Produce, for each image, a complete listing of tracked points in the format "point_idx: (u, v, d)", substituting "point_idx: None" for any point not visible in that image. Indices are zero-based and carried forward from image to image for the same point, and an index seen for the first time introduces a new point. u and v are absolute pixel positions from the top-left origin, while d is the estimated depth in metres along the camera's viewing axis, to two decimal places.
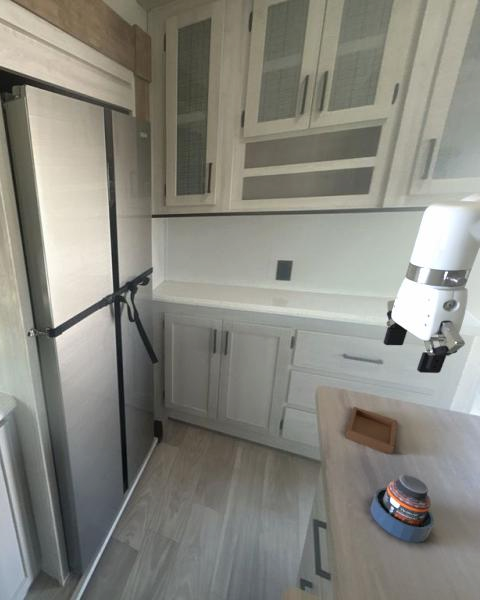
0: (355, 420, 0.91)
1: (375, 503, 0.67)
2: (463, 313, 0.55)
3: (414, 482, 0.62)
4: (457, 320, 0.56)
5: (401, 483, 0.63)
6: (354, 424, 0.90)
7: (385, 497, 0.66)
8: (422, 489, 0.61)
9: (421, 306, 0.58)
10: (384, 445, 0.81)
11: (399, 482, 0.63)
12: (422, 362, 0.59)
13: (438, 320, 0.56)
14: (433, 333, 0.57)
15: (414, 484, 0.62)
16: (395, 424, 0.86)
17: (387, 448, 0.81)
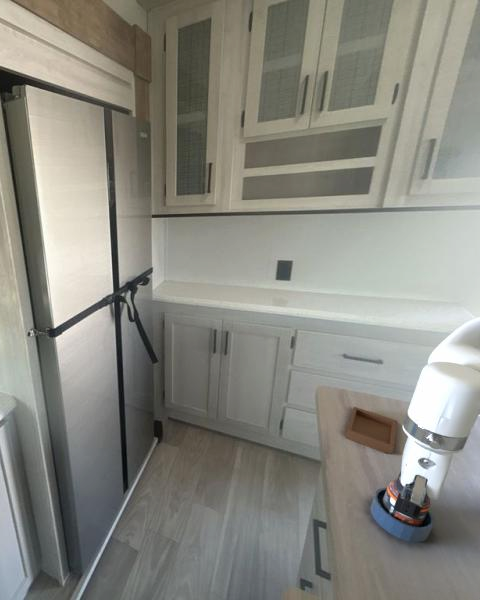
0: (355, 420, 0.91)
1: (375, 503, 0.67)
2: (442, 477, 0.55)
3: None
4: (434, 480, 0.56)
5: None
6: (354, 424, 0.90)
7: (385, 497, 0.66)
8: None
9: (406, 453, 0.59)
10: (384, 445, 0.81)
11: (399, 482, 0.63)
12: (396, 502, 0.62)
13: (413, 472, 0.57)
14: (408, 482, 0.58)
15: None
16: (395, 424, 0.86)
17: (387, 448, 0.81)
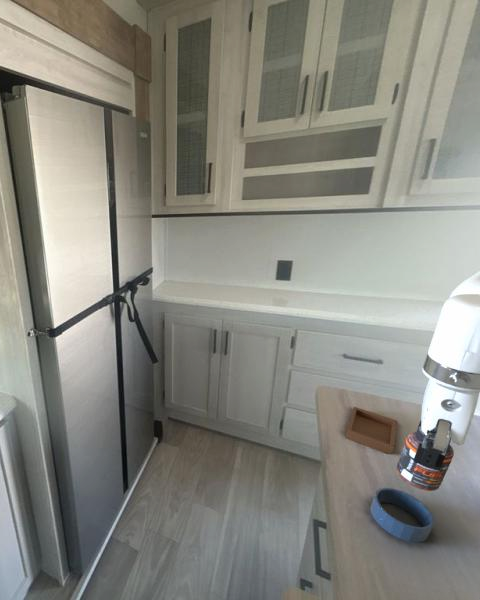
0: (355, 420, 0.91)
1: (375, 503, 0.67)
2: (468, 418, 0.50)
3: None
4: (459, 423, 0.51)
5: (421, 433, 0.58)
6: (354, 424, 0.90)
7: (404, 450, 0.61)
8: None
9: (427, 397, 0.55)
10: (384, 445, 0.81)
11: (419, 432, 0.59)
12: (417, 453, 0.58)
13: (435, 416, 0.53)
14: (429, 428, 0.54)
15: None
16: (395, 424, 0.86)
17: (387, 448, 0.81)
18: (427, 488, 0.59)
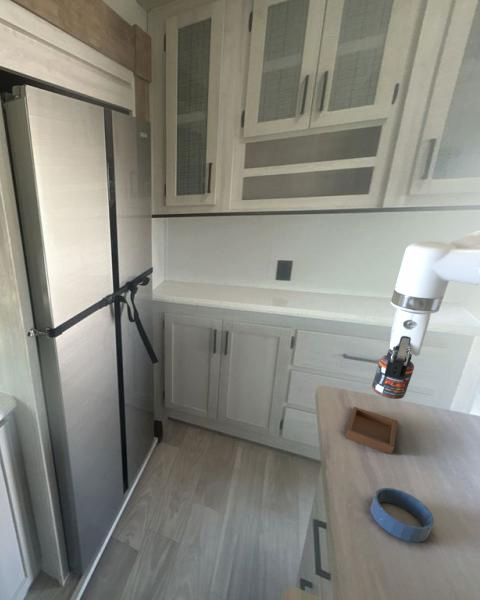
0: (355, 420, 0.91)
1: (375, 503, 0.67)
2: (422, 333, 0.68)
3: None
4: (416, 338, 0.69)
5: (390, 353, 0.76)
6: (354, 424, 0.90)
7: (377, 370, 0.79)
8: None
9: (394, 322, 0.73)
10: (384, 445, 0.81)
11: (388, 353, 0.76)
12: (386, 367, 0.75)
13: (399, 335, 0.71)
14: (395, 345, 0.72)
15: None
16: (395, 424, 0.86)
17: (387, 448, 0.81)
18: (394, 397, 0.77)
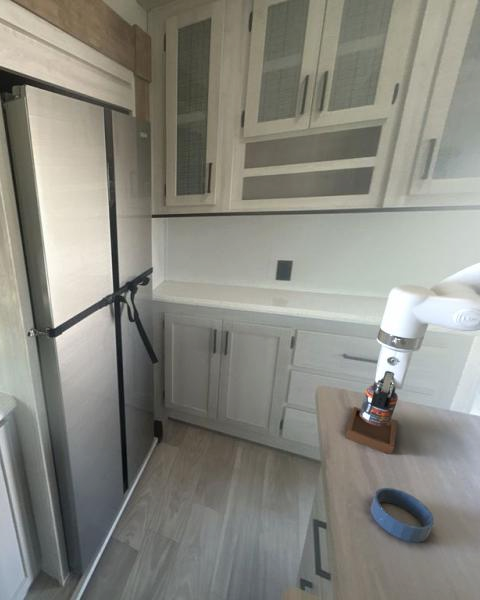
0: (355, 420, 0.91)
1: (375, 503, 0.67)
2: (404, 369, 0.74)
3: None
4: (398, 373, 0.75)
5: (376, 384, 0.82)
6: (354, 424, 0.90)
7: (364, 399, 0.85)
8: None
9: (379, 357, 0.79)
10: (384, 445, 0.81)
11: (374, 384, 0.83)
12: (372, 398, 0.81)
13: (383, 369, 0.77)
14: (380, 378, 0.78)
15: None
16: (395, 424, 0.86)
17: (387, 448, 0.81)
18: (380, 424, 0.83)
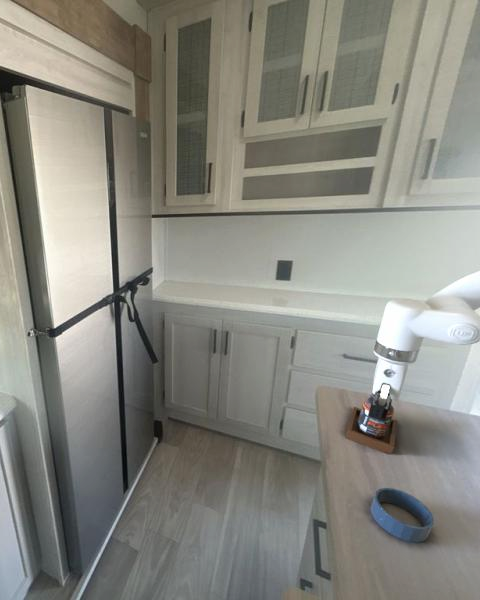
0: (355, 420, 0.91)
1: (375, 503, 0.67)
2: (400, 381, 0.76)
3: None
4: (395, 385, 0.76)
5: (372, 397, 0.84)
6: (354, 424, 0.90)
7: (361, 411, 0.87)
8: None
9: (376, 369, 0.80)
10: (384, 445, 0.81)
11: (371, 397, 0.84)
12: (370, 409, 0.81)
13: (380, 381, 0.78)
14: (377, 390, 0.79)
15: None
16: (395, 424, 0.86)
17: (387, 448, 0.81)
18: (376, 436, 0.85)
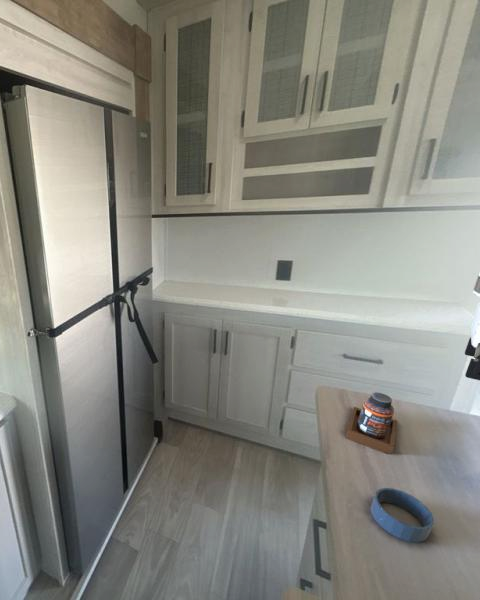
0: (355, 420, 0.91)
1: (375, 503, 0.67)
2: None
3: (382, 396, 0.83)
4: None
5: (372, 397, 0.84)
6: (354, 424, 0.90)
7: (361, 411, 0.87)
8: (387, 400, 0.82)
9: (477, 315, 0.62)
10: (384, 445, 0.81)
11: (371, 397, 0.84)
12: (469, 367, 0.63)
13: None
14: None
15: (382, 397, 0.83)
16: (395, 424, 0.86)
17: (387, 448, 0.81)
18: (376, 436, 0.85)
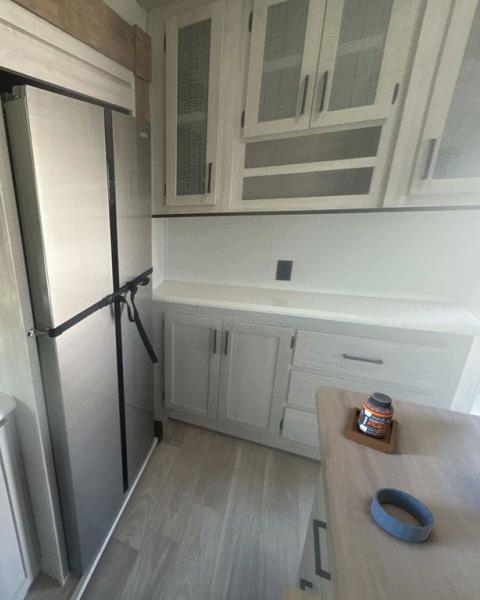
0: (355, 420, 0.91)
1: (375, 503, 0.67)
2: None
3: (382, 396, 0.83)
4: None
5: (372, 397, 0.84)
6: (354, 424, 0.90)
7: (361, 411, 0.87)
8: (387, 400, 0.82)
9: None
10: (384, 445, 0.81)
11: (371, 397, 0.84)
12: None
13: None
14: None
15: (382, 397, 0.83)
16: (395, 424, 0.86)
17: (387, 448, 0.81)
18: (376, 436, 0.85)
